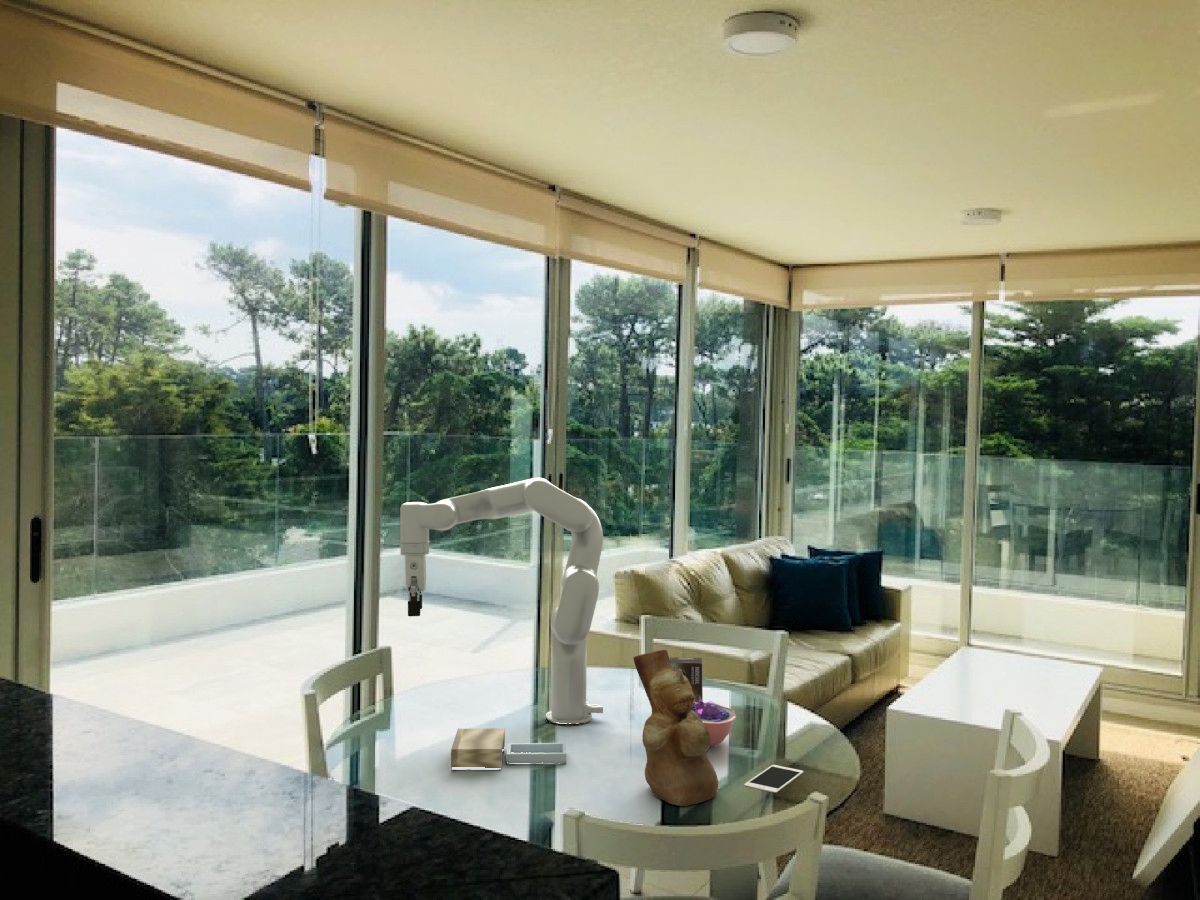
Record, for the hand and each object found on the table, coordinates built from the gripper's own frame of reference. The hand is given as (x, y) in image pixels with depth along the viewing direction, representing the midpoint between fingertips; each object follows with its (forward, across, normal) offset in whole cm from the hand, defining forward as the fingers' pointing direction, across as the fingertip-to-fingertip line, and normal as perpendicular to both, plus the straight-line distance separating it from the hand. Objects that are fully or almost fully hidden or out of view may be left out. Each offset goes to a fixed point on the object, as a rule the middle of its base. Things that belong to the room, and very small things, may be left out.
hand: (415, 612), depth 262 cm
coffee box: (+30, -4, -73) cm, 79 cm away
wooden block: (+30, -31, -16) cm, 46 cm away
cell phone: (+31, -52, -83) cm, 102 cm away
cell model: (+30, -26, -71) cm, 81 cm away
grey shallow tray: (+30, -32, -30) cm, 53 cm away
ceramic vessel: (+30, -56, -58) cm, 86 cm away
